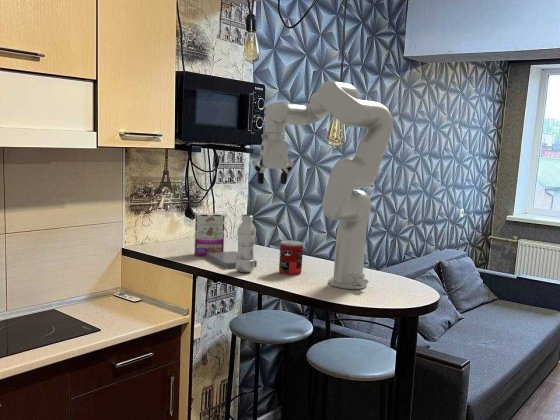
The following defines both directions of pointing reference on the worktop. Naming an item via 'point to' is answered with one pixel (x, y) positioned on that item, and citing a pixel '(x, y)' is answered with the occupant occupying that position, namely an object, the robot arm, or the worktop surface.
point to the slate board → (225, 259)
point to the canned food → (291, 257)
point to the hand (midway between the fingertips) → (272, 183)
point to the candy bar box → (209, 233)
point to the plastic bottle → (245, 244)
